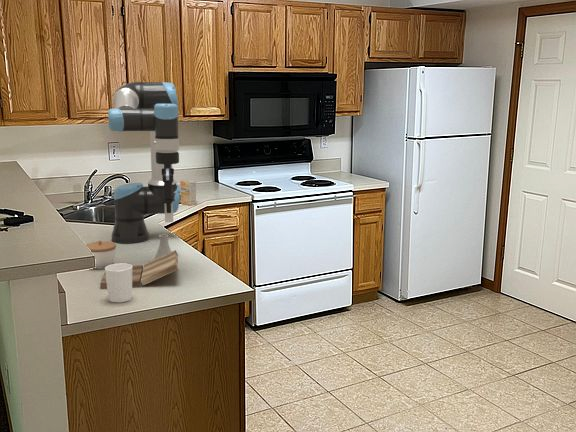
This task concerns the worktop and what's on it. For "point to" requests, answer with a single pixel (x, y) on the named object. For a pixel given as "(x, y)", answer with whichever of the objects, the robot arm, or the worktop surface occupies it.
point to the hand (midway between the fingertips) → (169, 221)
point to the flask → (163, 246)
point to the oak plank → (159, 267)
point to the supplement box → (188, 192)
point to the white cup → (119, 282)
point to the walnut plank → (136, 277)
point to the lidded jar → (103, 253)
